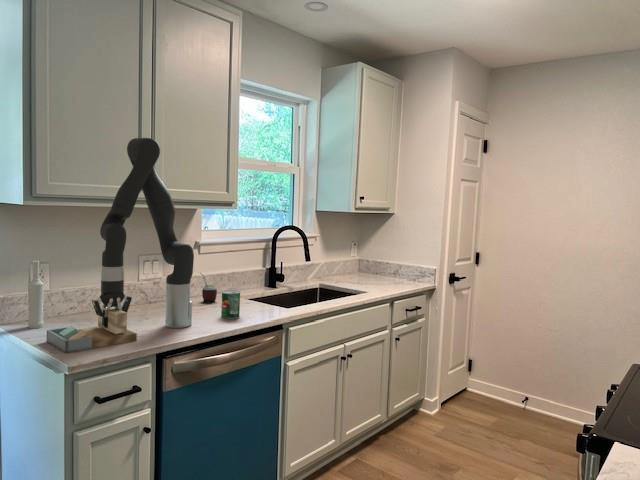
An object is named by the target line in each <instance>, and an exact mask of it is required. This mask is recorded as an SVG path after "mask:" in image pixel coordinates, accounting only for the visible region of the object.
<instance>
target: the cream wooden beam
mask: <svg viewBox="0 0 640 480" xmlns="http://www.w3.org/2000/svg"><path fill="white" fill-rule="evenodd" d="M100 308H101V311H102V310H103V309H102V308H103V306H100ZM107 317H108V327H107V328H105V327H104V326H103V325H102V316H99V315H97V327H101V328H103V329H105V330H108V331H110V332H112V333H114V334H119V333H125V332H127V329H128V312H124V311H121V310H118V309H115V307H111V308H110V311H108V316H107Z"/></svg>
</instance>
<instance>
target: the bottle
mask: <svg viewBox="0 0 640 480" xmlns="http://www.w3.org/2000/svg"><path fill="white" fill-rule="evenodd" d="M44 285H45V283H44V282H43V281H41V279H40V260H33V261H32V279H31V281H30V282H29V283H28V284H27V291H28V292H27V295H28V298H27V299H28V300H27V302H28V322H27V326H28V328H29V329H41V328H43V327H44V324H45V322H44V295H45V294H44V293H45V292H44V288H45V286H44Z"/></svg>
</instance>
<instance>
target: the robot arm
mask: <svg viewBox="0 0 640 480" xmlns="http://www.w3.org/2000/svg"><path fill="white" fill-rule="evenodd" d="M126 147H127V148H126V152H127V156H128V159H129V160H130V163H131V165H132V169H131V171H130V172H129V174H128V175H127V177H126V179H125V180H124V182H123V183H122V184H121V185H120V186H119V189H118V190H117V192H116V194H115V197H114V200H113V202H112V205H111V208H110V210H109V211H108V213H107V215H106V217H105V218H104V220H103V222H102V224H101V225H100V229H99V234H100V237H101V239H103V240H104V241H105V248H104V250H103V251H102V254H101V272H100V273H101V274H100V296H99V297H98V298H97V299H92V300H91V303H92V305H93V309H94V310H95V314H96V316H98V315H99V316H102V325H103V326H104V327H105V328H107V327H108V317H107V316H108V311H110V308H111V307H114V308H115V309H118V310H121V311H124V312H127V313H128V312H129V308H130V306H131V303H132V299H133V297H132V296H129V295H125V293H124V291H125V268H124V251H125V247H126V244H127V230H126V228H125V226H124V224H125V222H126V221H127V220H128V219H129V218H131V215H132V213H133V211H134V208H135V206H136V204H137V201H138V198H139V196H140V193H141V191H142V193H143V195H144V200H145V201H146V202H145V203H146V205H147V208H148V210H149V214H150V216H151V219H152V221H153V224H154V225H153V226H154V228H155V231H156V234H157V237H158V241H159V247H160V250H161V255H162V258H163V260H164V261H165V263H166V264H168V265H171V266H173V271H172V273H170V274H168V275H166V279H165V280H166V282H165V283H166V284H165V319H164V320H165V327H166V328H170V329H182V328H187V327H189V326H192V324H193V323H192V318H193V317H192V316H193V314H192V313H193V301H191V280H192V276H193V274H194V262H195V261H194V259H195V254H194V249H193V246H191V245H190V244H188V243H185V242H179V241H178V239H177V236H176V234H175V230H174V224H175V223H174V222H175V218H176V217H175V216H176V207H175V204H174V202H173V198H172V196H171V193H170V191H169V190H168V188H167V186H166V185H165V184H164V182H163V181H162V179H161V178H160V176H159V175H158V173H157V171H156V169H155V165H156V163H157V161H158V159H159V158H160V156H161V148H160V144H159V143H158V141H157V140H156V139H154V138H150V137H135V138H132V139H130V140H129V141H128V143H127V146H126ZM122 302H123V303H122ZM101 303H102V304H103V305H102V307H103V308H102V309H103V310H102V311H101V308H100V307H101Z"/></svg>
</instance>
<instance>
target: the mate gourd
mask: <svg viewBox="0 0 640 480" xmlns="http://www.w3.org/2000/svg"><path fill="white" fill-rule="evenodd" d="M199 274H200V275H201V276H202V278H203V280H204V286H203V287H202V290H201V293H202V298H203V300H202V302H203V303H206V304H210V303H214V304H215V303H216V302H217V301H216V299H217V294H218V290H217V287H216V286H215V285H212V284H207V281H206V277H205V275H204V274H202V272H200V273H199Z"/></svg>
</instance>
